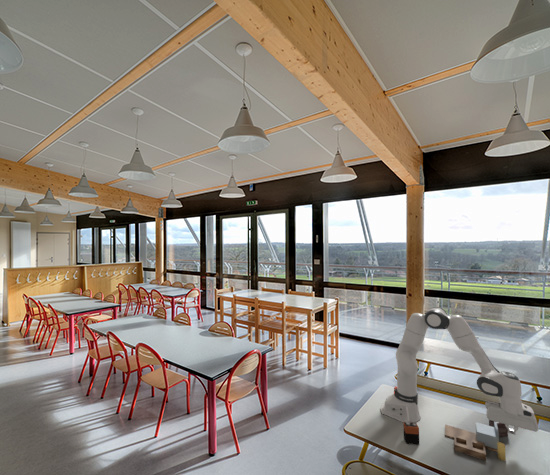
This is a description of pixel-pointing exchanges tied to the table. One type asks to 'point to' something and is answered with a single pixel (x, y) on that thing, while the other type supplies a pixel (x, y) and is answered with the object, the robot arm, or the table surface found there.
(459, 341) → the robot arm
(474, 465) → the table surface
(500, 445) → the pin
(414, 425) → the battery
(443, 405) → the table surface
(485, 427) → the cover
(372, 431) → the table surface
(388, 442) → the table surface
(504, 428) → the box
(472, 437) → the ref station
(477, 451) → the board
